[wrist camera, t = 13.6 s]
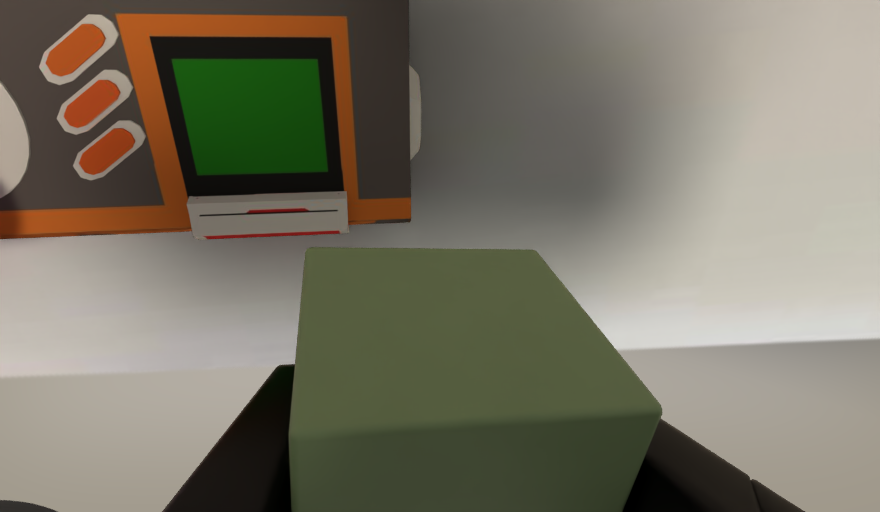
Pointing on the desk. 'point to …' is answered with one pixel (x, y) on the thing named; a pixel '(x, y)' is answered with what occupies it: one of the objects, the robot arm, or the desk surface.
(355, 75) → the electronic device
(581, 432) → the block
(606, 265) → the desk surface
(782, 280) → the desk surface
